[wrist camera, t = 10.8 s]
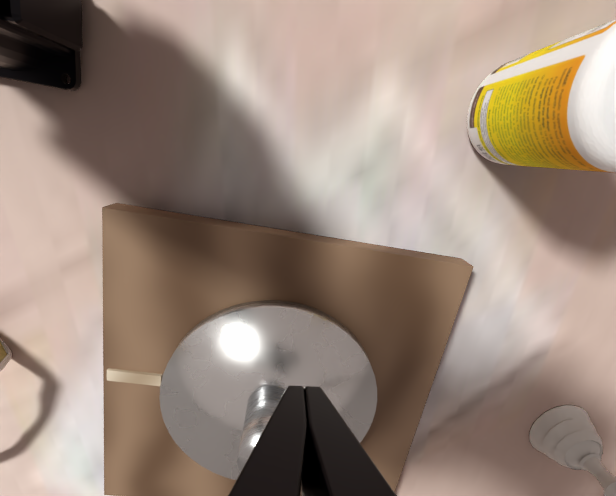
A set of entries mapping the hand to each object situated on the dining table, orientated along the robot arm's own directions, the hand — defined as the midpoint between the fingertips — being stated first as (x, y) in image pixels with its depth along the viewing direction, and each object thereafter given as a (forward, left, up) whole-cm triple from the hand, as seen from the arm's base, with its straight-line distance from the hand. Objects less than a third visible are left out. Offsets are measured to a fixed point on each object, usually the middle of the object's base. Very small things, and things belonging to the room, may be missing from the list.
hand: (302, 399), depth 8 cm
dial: (0, -12, -11) cm, 16 cm away
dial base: (0, -10, -13) cm, 16 cm away
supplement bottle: (+11, +10, -13) cm, 20 cm away
